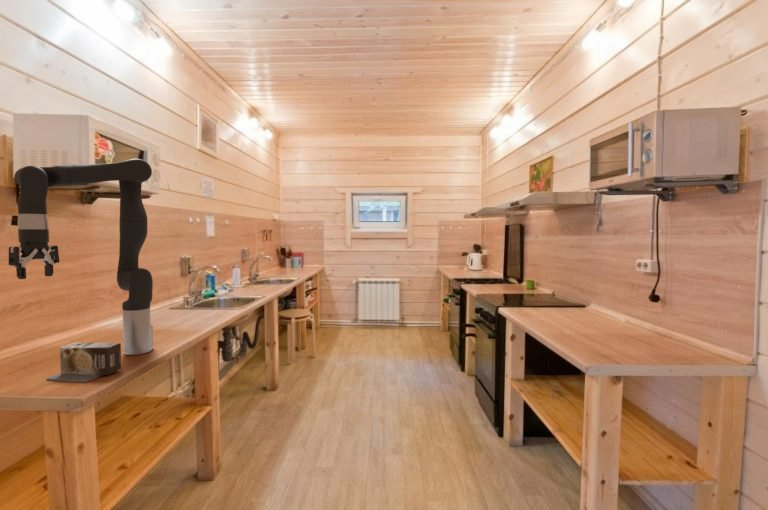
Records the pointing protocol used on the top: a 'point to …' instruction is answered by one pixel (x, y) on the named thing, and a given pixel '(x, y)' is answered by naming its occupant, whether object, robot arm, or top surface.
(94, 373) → the coffee box
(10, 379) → the top surface
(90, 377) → the mat
